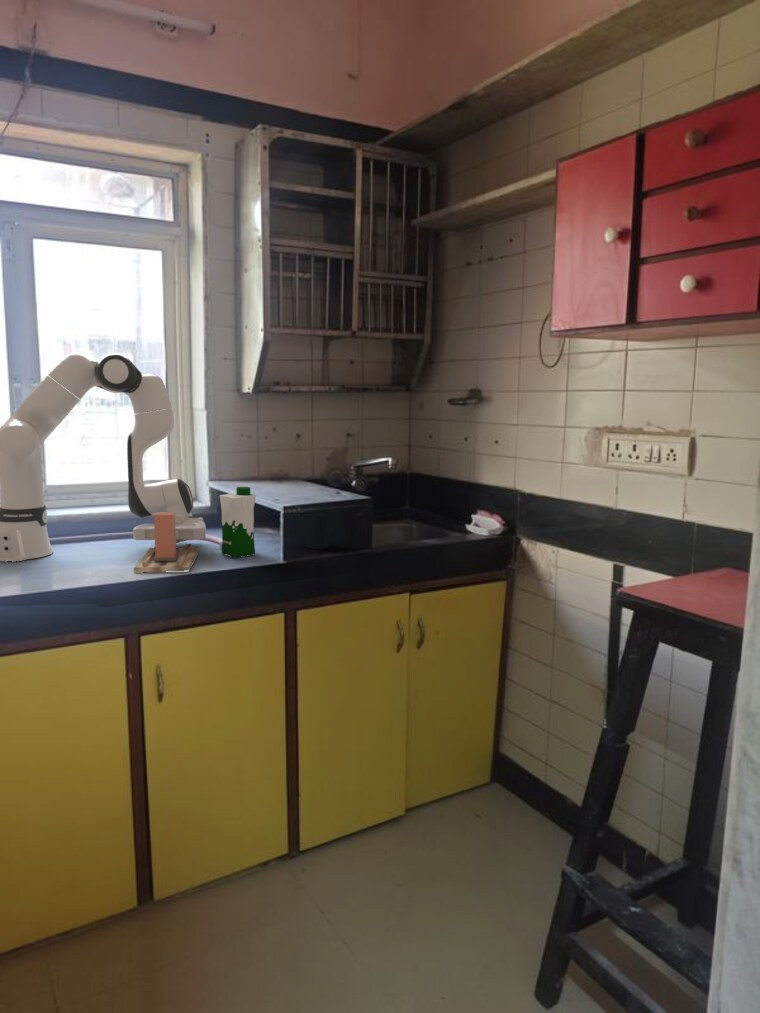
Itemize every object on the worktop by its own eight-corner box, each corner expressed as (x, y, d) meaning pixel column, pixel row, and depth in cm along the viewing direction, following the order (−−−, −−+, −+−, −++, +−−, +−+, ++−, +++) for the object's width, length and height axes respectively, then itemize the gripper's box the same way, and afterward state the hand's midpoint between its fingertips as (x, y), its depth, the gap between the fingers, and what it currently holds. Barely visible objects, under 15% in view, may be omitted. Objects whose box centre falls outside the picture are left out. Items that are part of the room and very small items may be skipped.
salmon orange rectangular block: (153, 561, 192) (151, 515, 190) (156, 556, 197) (154, 512, 195) (175, 560, 193) (174, 514, 191) (178, 556, 198) (177, 511, 196)
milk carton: (259, 554, 210) (258, 488, 207) (233, 559, 203) (232, 491, 200) (242, 550, 216) (241, 485, 213) (217, 554, 210) (215, 487, 206)
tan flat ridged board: (134, 573, 186) (133, 563, 186) (150, 552, 210) (150, 544, 209) (188, 572, 188) (188, 562, 188) (198, 552, 212) (198, 543, 211)
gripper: (137, 517, 208) (127, 526, 194) (208, 517, 211) (203, 526, 197) (138, 538, 209) (128, 548, 195) (208, 538, 212) (203, 548, 198)
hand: (166, 537), depth 196 cm, fingers closed, pressing on salmon orange rectangular block
